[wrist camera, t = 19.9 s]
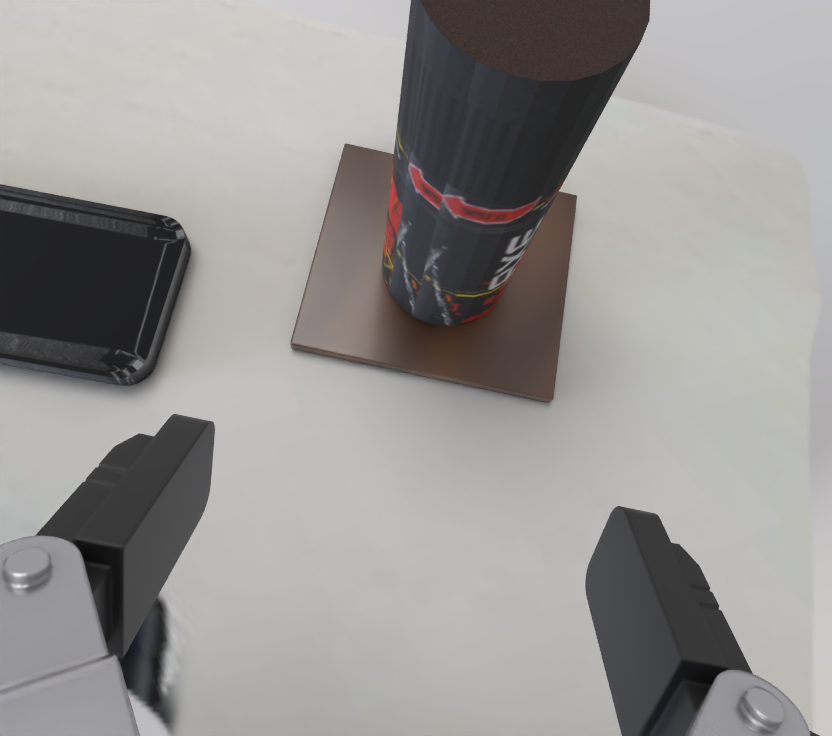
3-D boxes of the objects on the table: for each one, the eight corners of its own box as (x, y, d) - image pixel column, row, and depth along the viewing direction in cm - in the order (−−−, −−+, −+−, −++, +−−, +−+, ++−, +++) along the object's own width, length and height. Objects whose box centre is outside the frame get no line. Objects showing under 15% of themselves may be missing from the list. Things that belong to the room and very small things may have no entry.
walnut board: (290, 348, 28) (290, 343, 28) (344, 150, 32) (344, 142, 31) (549, 403, 29) (553, 399, 28) (573, 201, 32) (577, 195, 32)
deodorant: (468, 349, 28) (589, 123, 14) (357, 283, 29) (367, 1, 15) (527, 253, 30) (686, -31, 16) (422, 192, 31) (487, -135, 17)
